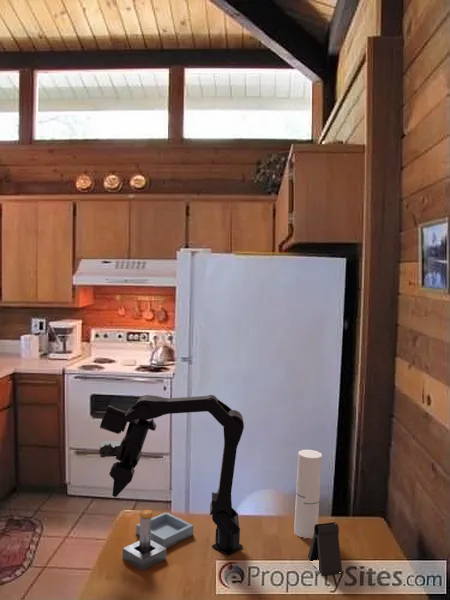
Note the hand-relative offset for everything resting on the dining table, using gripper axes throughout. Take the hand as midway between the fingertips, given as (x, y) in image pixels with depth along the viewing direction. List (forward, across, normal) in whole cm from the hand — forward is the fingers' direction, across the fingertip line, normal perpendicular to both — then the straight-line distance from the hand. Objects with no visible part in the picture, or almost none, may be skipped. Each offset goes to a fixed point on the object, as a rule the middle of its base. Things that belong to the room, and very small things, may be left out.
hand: (117, 489), depth 161 cm
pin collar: (+13, +8, +14) cm, 20 cm away
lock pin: (+13, +8, +14) cm, 20 cm away
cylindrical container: (-1, -10, +59) cm, 60 cm away
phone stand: (-1, +8, +61) cm, 62 cm away
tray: (+12, -6, +18) cm, 22 cm away
